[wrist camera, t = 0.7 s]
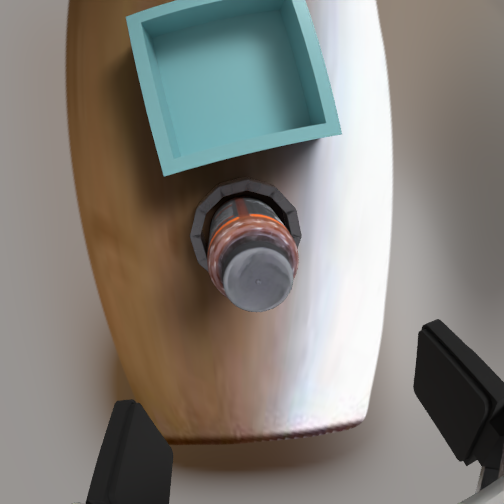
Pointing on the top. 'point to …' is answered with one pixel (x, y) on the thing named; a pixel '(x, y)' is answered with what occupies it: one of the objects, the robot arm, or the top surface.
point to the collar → (233, 188)
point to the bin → (230, 78)
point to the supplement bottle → (251, 254)
